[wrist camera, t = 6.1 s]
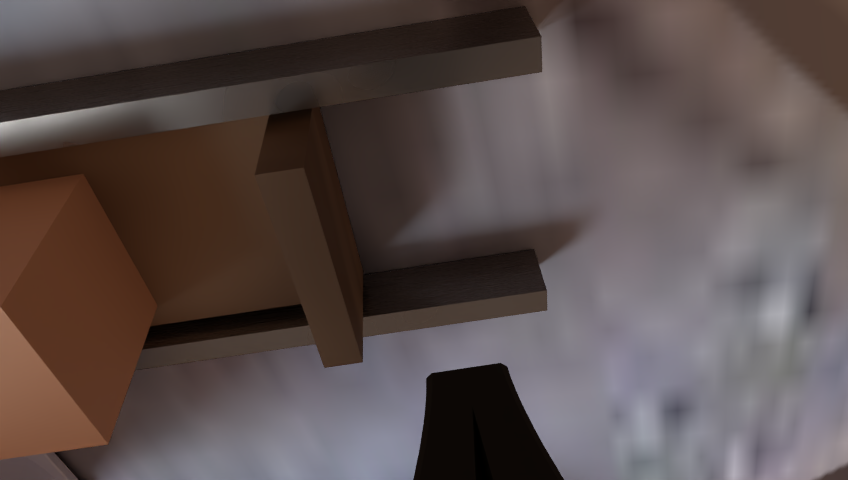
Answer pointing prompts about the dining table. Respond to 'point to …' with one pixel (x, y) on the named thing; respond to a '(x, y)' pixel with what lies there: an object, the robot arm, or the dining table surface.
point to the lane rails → (291, 91)
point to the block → (64, 318)
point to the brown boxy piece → (228, 220)
